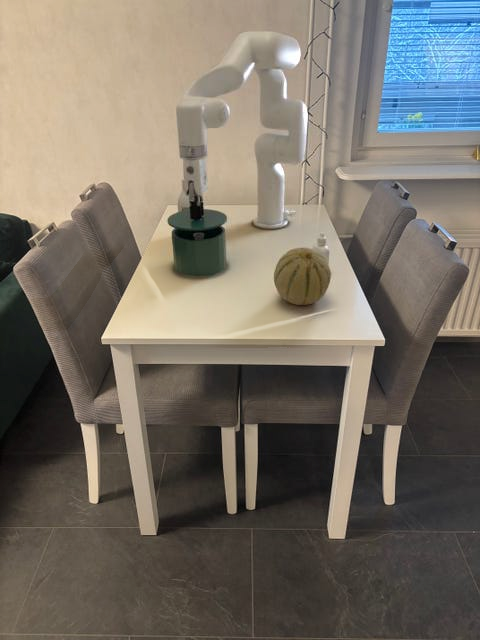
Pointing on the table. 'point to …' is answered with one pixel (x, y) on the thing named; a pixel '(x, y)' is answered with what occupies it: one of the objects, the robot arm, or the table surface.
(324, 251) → the eye dropper bottle
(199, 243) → the tin
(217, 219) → the tin lid
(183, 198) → the bath foam
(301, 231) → the table surface
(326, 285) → the cantaloupe
